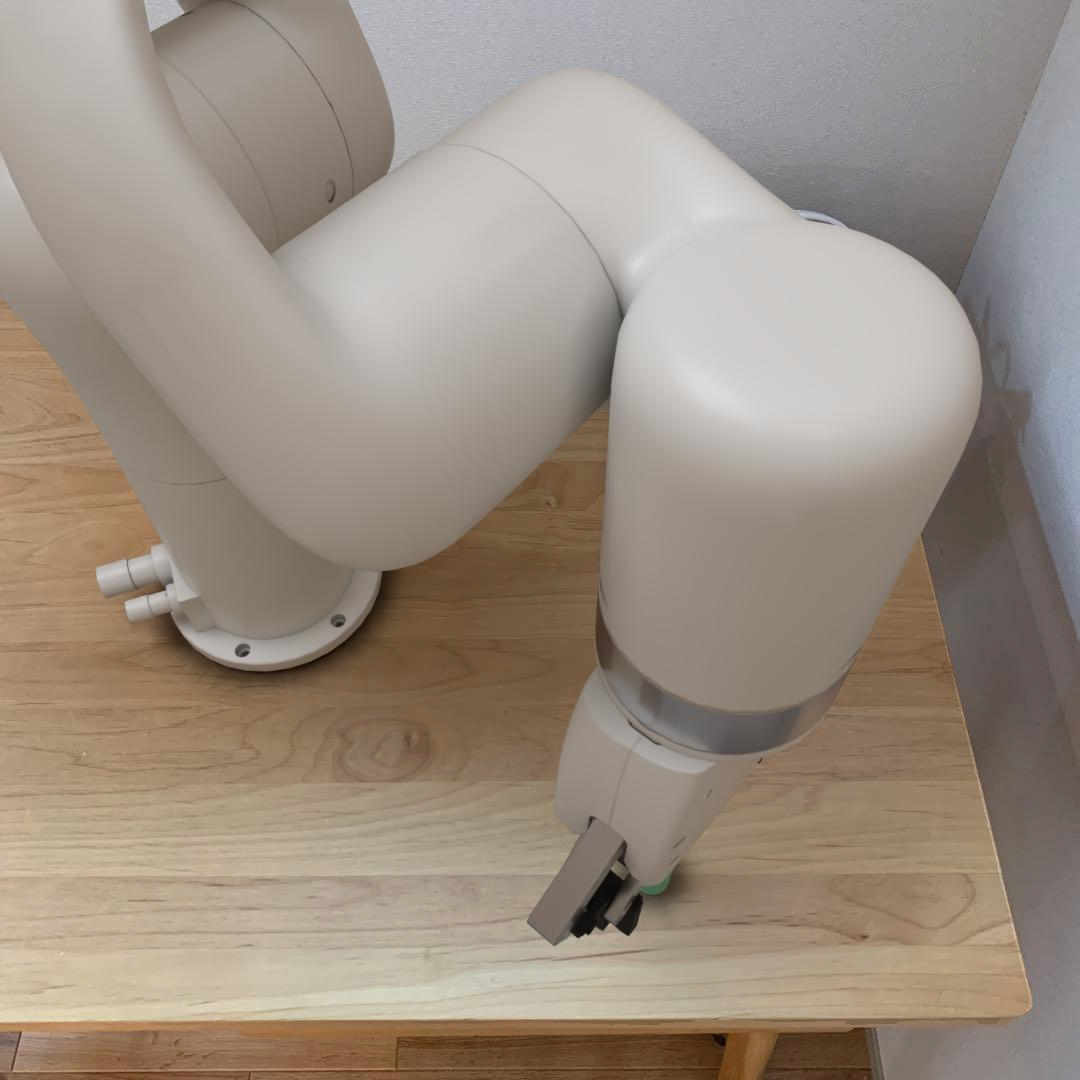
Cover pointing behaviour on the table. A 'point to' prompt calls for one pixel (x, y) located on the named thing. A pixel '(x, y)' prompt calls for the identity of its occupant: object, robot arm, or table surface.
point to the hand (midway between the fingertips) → (669, 820)
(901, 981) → the table surface
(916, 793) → the table surface
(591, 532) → the table surface
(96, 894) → the table surface
